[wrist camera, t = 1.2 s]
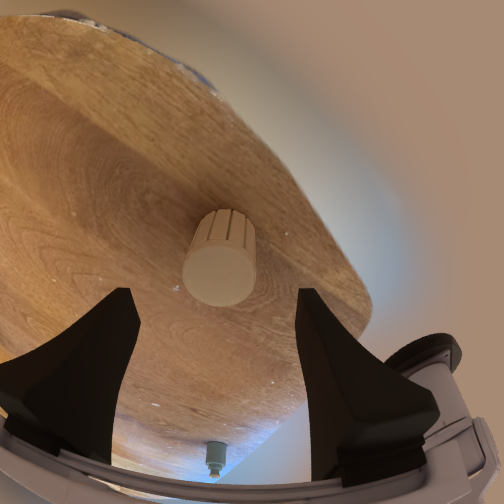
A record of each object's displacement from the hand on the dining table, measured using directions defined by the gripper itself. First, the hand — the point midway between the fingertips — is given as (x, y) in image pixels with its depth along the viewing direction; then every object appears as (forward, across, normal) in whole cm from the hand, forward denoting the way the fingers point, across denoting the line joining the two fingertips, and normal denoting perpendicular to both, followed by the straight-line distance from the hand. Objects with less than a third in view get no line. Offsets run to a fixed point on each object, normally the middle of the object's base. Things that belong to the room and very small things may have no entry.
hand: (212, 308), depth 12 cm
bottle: (+7, +4, +34) cm, 35 cm away
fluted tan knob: (+7, 0, 0) cm, 7 cm away
